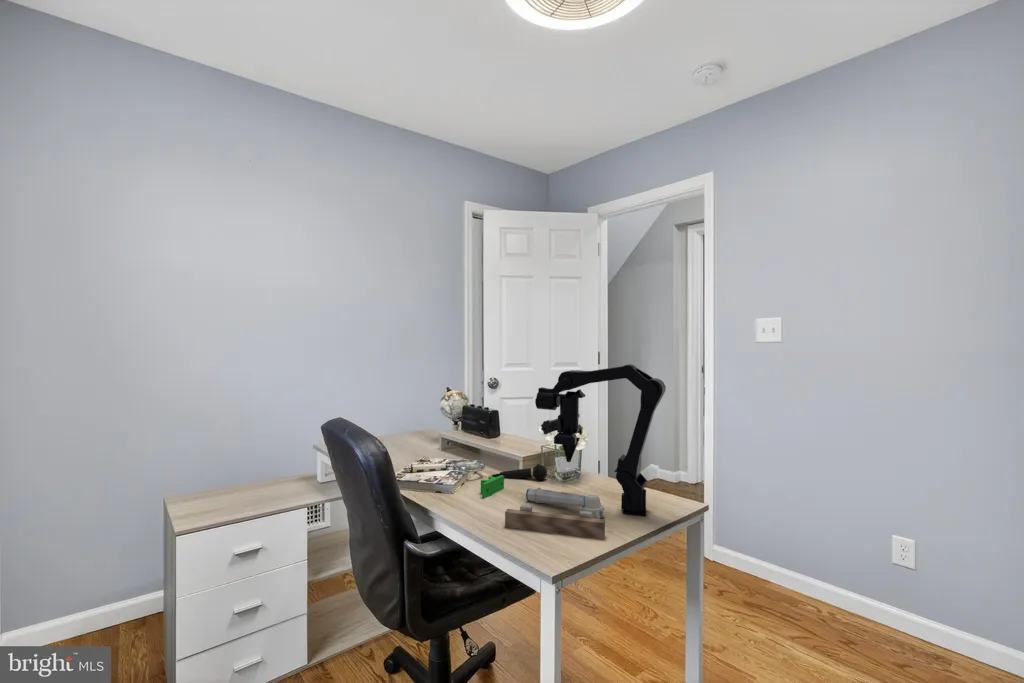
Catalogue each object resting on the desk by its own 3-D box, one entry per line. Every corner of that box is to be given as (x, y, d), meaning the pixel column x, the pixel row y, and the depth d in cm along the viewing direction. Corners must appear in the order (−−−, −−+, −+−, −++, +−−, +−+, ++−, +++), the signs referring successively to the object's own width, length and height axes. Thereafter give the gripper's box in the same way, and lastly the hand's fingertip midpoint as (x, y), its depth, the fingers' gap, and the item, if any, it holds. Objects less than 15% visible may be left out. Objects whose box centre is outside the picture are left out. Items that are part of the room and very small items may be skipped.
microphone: (491, 487, 172) (547, 483, 168) (489, 473, 170) (545, 469, 167) (494, 478, 177) (548, 474, 173) (491, 464, 175) (546, 460, 172)
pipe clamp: (494, 487, 162) (494, 473, 162) (504, 489, 160) (504, 475, 160) (475, 496, 152) (475, 482, 152) (484, 498, 151) (485, 484, 151)
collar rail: (605, 532, 125) (605, 513, 125) (604, 538, 122) (604, 519, 121) (509, 521, 132) (509, 503, 132) (504, 526, 128) (505, 508, 128)
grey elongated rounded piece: (533, 485, 152) (605, 490, 137) (535, 507, 151) (608, 514, 137) (523, 489, 148) (597, 495, 133) (525, 512, 147) (599, 520, 132)
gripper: (549, 405, 160) (548, 452, 160) (537, 414, 142) (536, 467, 142) (583, 407, 157) (582, 455, 157) (574, 416, 139) (574, 470, 139)
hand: (568, 461), depth 149 cm, fingers closed
